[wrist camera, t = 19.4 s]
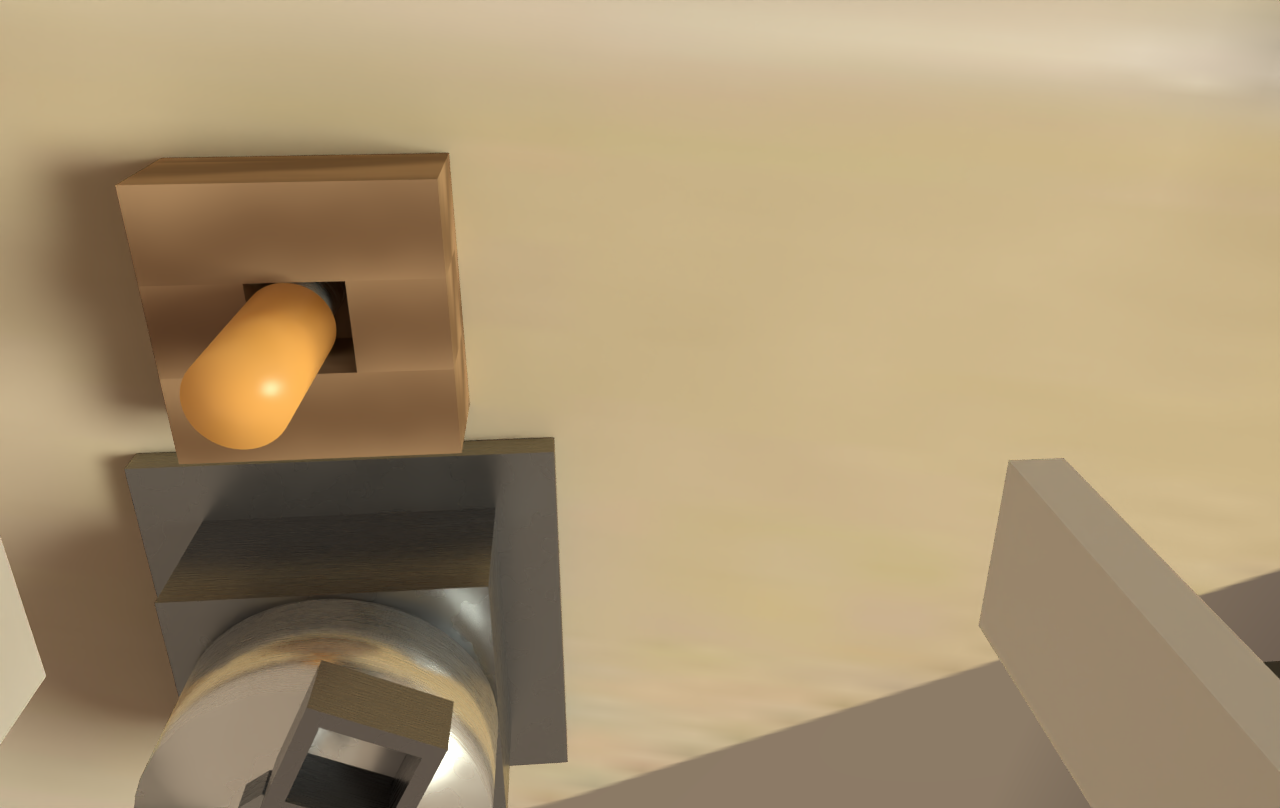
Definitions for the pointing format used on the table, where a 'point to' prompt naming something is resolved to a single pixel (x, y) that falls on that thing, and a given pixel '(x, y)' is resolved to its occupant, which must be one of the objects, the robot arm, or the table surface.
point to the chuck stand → (375, 560)
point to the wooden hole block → (311, 252)
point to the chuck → (328, 716)
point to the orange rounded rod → (262, 364)
